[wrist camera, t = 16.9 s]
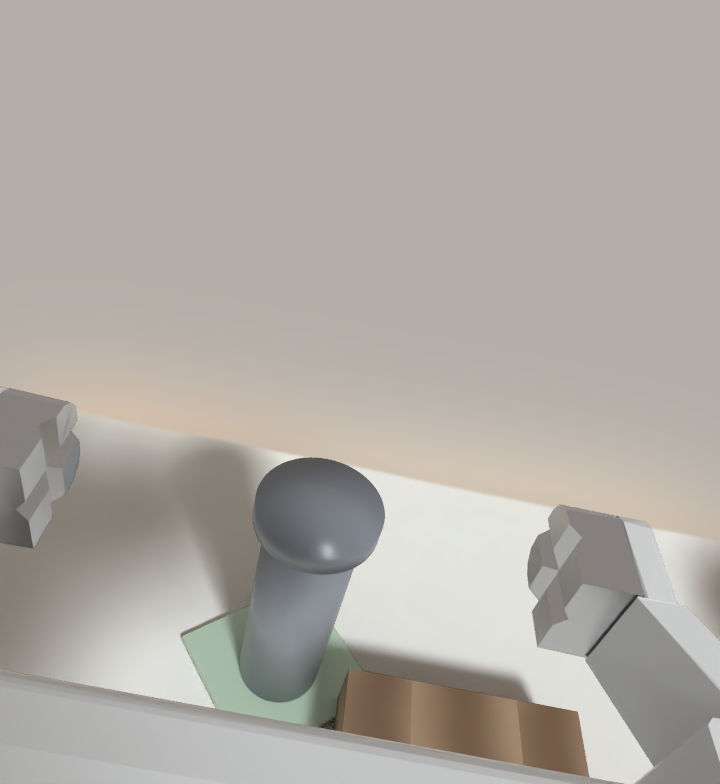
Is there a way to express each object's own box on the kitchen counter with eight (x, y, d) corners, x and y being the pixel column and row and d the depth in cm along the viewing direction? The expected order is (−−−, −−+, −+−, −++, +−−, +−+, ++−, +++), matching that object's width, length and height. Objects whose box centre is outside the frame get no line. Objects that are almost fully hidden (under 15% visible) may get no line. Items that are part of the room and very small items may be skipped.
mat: (181, 639, 42) (181, 636, 41) (301, 583, 47) (302, 580, 46) (247, 771, 37) (248, 769, 36) (374, 693, 42) (375, 690, 41)
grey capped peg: (210, 643, 41) (232, 480, 32) (296, 602, 45) (338, 444, 36) (258, 735, 38) (299, 580, 28) (348, 682, 41) (410, 529, 32)
